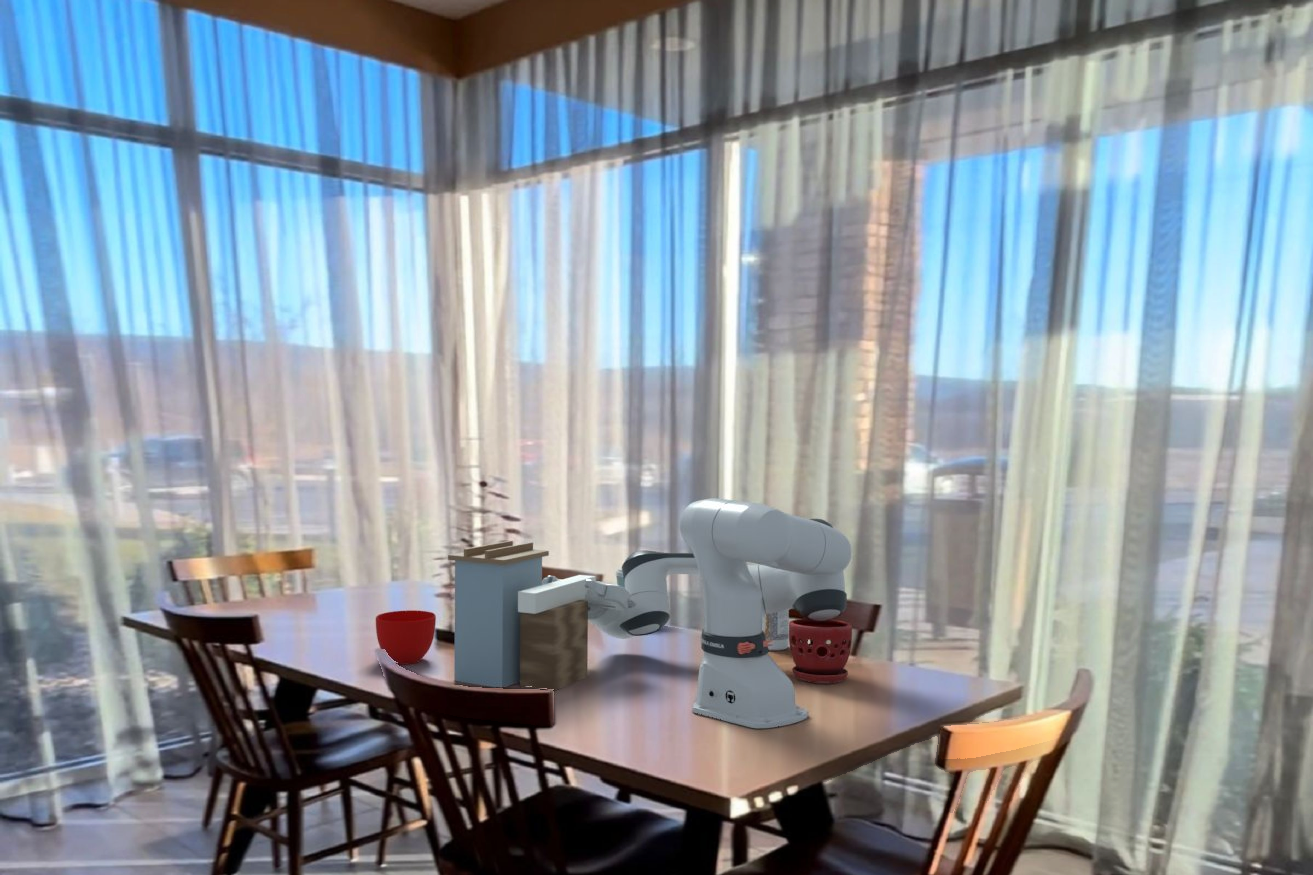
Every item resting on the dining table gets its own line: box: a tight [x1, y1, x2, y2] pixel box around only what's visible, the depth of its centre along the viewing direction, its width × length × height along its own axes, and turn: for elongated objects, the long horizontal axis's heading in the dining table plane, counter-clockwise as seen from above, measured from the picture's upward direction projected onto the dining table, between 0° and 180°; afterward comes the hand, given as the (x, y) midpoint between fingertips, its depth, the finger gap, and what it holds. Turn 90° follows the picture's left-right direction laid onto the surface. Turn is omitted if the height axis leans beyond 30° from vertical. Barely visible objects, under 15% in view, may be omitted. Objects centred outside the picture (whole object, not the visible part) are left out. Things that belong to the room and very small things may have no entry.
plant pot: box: [788, 618, 853, 685], centre depth 214 cm, size 13×13×12 cm
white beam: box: [518, 574, 597, 614], centre depth 210 cm, size 24×4×4 cm, turn 154°
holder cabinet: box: [447, 540, 550, 688], centre depth 212 cm, size 16×14×28 cm
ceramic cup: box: [375, 609, 437, 665], centre depth 227 cm, size 13×17×10 cm
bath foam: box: [762, 609, 790, 651], centre depth 241 cm, size 7×7×20 cm
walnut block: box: [519, 600, 589, 691], centre depth 209 cm, size 13×8×16 cm, turn 152°
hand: (568, 581), depth 214 cm, fingers open, 8 cm apart
